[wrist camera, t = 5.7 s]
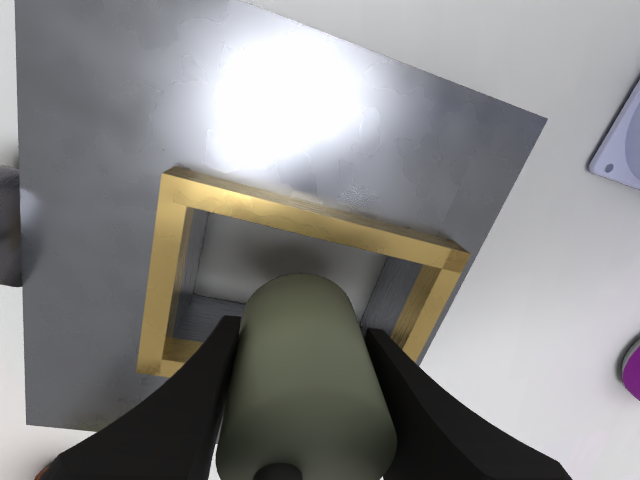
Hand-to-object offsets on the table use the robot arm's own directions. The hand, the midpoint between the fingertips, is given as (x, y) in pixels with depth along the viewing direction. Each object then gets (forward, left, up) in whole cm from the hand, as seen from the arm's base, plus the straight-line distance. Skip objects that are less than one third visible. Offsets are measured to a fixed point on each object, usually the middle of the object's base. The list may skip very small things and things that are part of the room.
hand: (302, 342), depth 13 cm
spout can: (0, 0, -2) cm, 2 cm away
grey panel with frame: (+3, 0, -7) cm, 8 cm away
